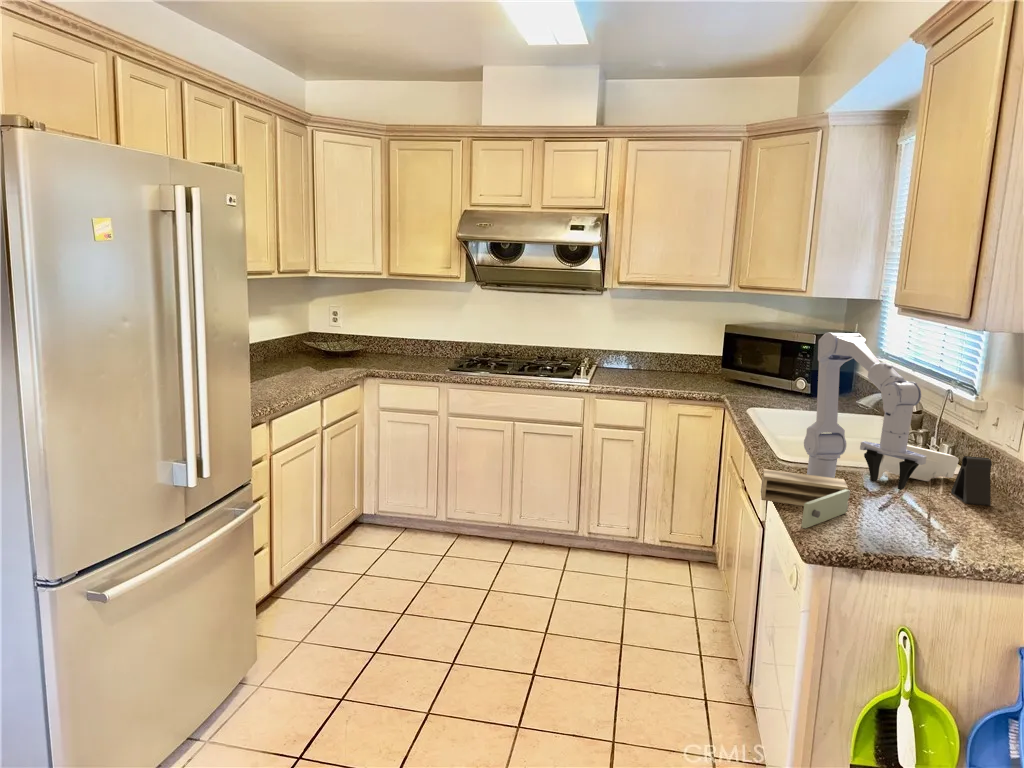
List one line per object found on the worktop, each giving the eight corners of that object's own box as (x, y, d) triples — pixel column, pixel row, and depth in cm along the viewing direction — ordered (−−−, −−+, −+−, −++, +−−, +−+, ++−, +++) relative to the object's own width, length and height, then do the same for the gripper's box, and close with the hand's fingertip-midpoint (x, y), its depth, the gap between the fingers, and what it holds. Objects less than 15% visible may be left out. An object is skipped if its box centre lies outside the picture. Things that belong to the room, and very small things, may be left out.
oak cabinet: (760, 491, 183) (763, 468, 182) (840, 502, 177) (843, 479, 176) (761, 499, 177) (764, 476, 175) (844, 511, 170) (847, 487, 169)
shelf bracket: (864, 477, 200) (878, 437, 198) (934, 492, 205) (948, 453, 203) (877, 483, 194) (891, 442, 193) (948, 498, 199) (962, 459, 197)
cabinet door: (801, 526, 158) (804, 503, 157) (844, 510, 170) (847, 488, 169) (810, 530, 157) (813, 506, 156) (852, 513, 168) (856, 491, 167)
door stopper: (990, 506, 179) (998, 463, 177) (965, 503, 180) (973, 461, 178) (974, 494, 188) (981, 453, 185) (950, 492, 189) (957, 451, 186)
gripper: (857, 426, 164) (849, 479, 167) (920, 440, 153) (911, 496, 155) (871, 423, 168) (863, 474, 171) (933, 436, 157) (924, 491, 159)
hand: (887, 484), depth 163 cm, fingers open, 6 cm apart
